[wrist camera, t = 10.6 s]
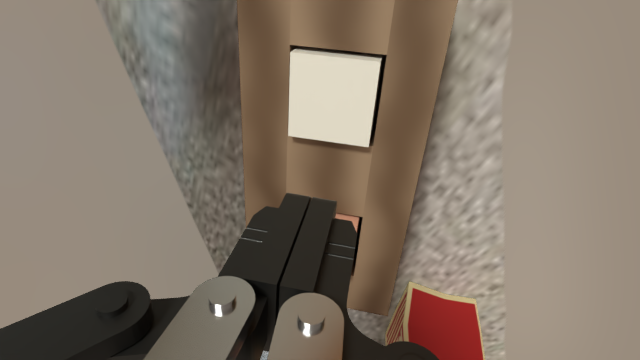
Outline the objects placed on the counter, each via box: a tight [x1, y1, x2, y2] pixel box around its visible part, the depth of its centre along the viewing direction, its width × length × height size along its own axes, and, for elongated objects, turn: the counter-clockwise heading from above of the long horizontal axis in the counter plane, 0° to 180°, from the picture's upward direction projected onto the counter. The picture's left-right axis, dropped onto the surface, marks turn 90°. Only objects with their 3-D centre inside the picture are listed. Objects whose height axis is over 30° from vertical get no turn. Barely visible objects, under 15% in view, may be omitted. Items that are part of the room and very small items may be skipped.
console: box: [237, 0, 458, 316], centre depth 32 cm, size 14×28×6 cm, turn 176°
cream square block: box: [288, 46, 383, 147], centre depth 27 cm, size 6×6×4 cm
